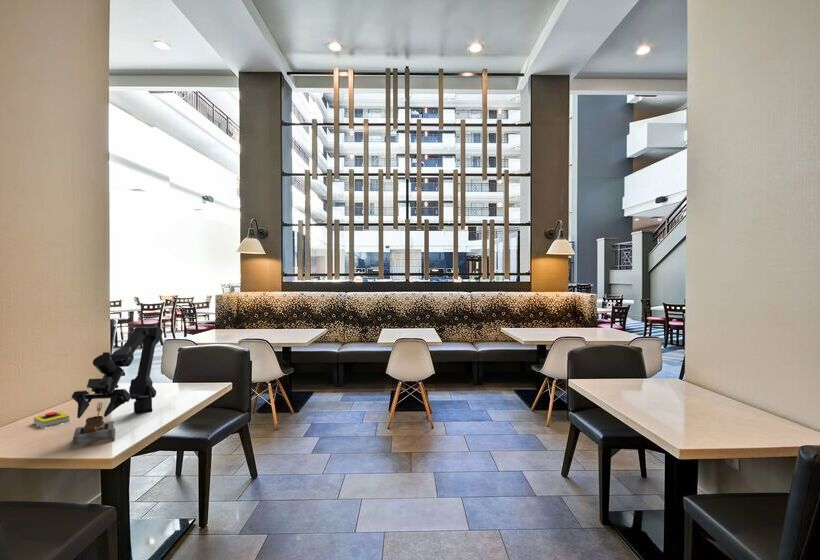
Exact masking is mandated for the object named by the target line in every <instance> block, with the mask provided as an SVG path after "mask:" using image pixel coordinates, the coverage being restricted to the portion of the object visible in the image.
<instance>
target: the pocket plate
mask: <svg viewBox="0 0 820 560" xmlns="http://www.w3.org/2000/svg"><path fill="white" fill-rule="evenodd" d="M84 428H85V425H84V426H77V427H75V430H74V433H73V436H72V442H71V445H70V449H71V450H77V449H81V448H85V447H89V446H90V447H91V446H96V445H102V444H105V443H106V444H107V443H110V442H111V443H112V442H115V437H116V428H115V427H114V420H112V421H107V422H104V430H102V431H96V432H91V433H84Z"/></svg>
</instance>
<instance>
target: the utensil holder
mask: <svg viewBox="0 0 820 560" xmlns="http://www.w3.org/2000/svg"><path fill="white" fill-rule="evenodd" d="M102 408H103V402H102V401H100V402H97V405H96V412H97V415H96V414H95V412H94V410H91V408H90V409H88V410H87V409H86V411H87V412H86V415H87V417H86V419H85V424H84V426H85V428H84V433H91V432H96V431H102V430H104V423H105V422H104V415H103V416H102V415H100V412H101V411H102ZM91 411H92V413H93V414H90V416H89V415H88V412H91Z"/></svg>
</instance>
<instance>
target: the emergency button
mask: <svg viewBox="0 0 820 560" xmlns="http://www.w3.org/2000/svg"><path fill="white" fill-rule="evenodd" d="M33 422H34V424H36V425H38V426H40V427H39V428H41V427H42V428H41V429H43V428H45V427H50V426H51V427H53V428H57V427H60V424H61V423H64V424H65V425H68V424H72V423H73V421H72V420H71V418H70V414H68V413H65V412H62V411H51V412H46V413H45V414H43V415H42V414H41V415H38V416H34V417H33ZM71 422H72V423H71ZM67 423H68V424H67ZM34 424H33V425H34ZM36 425H35V426H36ZM38 426H37V427H38ZM56 426H57V427H56Z"/></svg>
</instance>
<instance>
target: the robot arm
mask: <svg viewBox="0 0 820 560" xmlns="http://www.w3.org/2000/svg"><path fill="white" fill-rule="evenodd" d="M162 336H163V329H161V327H159V326H136V327H135V328H134V329H133V332H132V334H131V335H130V336H129V338H127V340H126V341H125V343H124V344H123V345H122V347H120V348H118V349H117V350H114V351H113V352H112V353H110V352H108V351H107V352H106V351H105V352H104V351H103V352H102V354H100V355H98V356H97V357H95V358H94V359H93V361H92V365H93V366H94V367H95V368H96V370H97V371H99V373H100V374H102V377H101V378H89V379H88V381H87V384H86V388H87V389H91V392H94V393H89V391H87V390H75V391H74V392H73V393H72V394H71V398H72V399H73V400H74V401H75V403H77V413H76V415H77V416H76V418H78V419H80V418H81V417H83V415H84V413H85V411H87V409H88V408H89V406H90V403H91V402H92V400H99V399H100V400H101V399H102V400H103V399H104V400H105V399H110V401H109V402H108V405H107V407H106V409H105V410H104V414H103V418H107V416H109V415H110V414H111V413H113V412H114V411H115V410H117V409H118V408H119V407H120V406H122V405H125V403H129V402H130V400H135V401H133V412H134V413H135V415H137V414H138V415H139V414H143V413H150V412H153V398H156V396H157V390H156V389H155V388H154V387H153V383H154V382H153V380H152V378H151V371H152V365H153V362H154V361H153V359H154V354H155V348H156V346H157V344H158V343H159V342H160V341H161V338H162ZM140 344H142V349H141V354H140V359H139V365H138V369H137V370H138V371H137V375H136V377H135V378H133V379H131V380H130V386H129V388H128V391H127V389H126V388H119V385H118V384H119V381H120V379H121V378H122V377H125V376H126V371H124V369H123V367H124V368H126V367H129V366H130V365H132V363H133V361H134V359H135V357H134V354H135V352H136V350H137V349H138V348H139V346H140Z"/></svg>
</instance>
